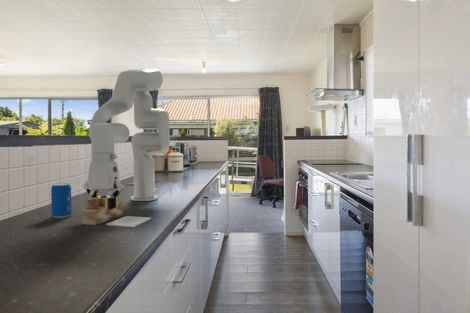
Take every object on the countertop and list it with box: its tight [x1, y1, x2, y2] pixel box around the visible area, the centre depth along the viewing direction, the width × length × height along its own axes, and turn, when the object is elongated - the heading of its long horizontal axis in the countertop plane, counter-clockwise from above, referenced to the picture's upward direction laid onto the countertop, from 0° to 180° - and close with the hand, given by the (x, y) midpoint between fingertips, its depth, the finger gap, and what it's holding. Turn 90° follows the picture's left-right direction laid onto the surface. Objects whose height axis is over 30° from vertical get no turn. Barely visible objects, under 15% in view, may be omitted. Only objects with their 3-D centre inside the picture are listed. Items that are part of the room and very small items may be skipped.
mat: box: [106, 215, 152, 228], centre depth 116 cm, size 12×10×1 cm
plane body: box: [81, 195, 124, 226], centre depth 119 cm, size 16×5×9 cm, turn 166°
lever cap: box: [88, 194, 118, 208], centre depth 119 cm, size 7×6×4 cm
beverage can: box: [50, 182, 73, 219], centre depth 122 cm, size 6×6×12 cm
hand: (103, 207), depth 119 cm, fingers closed on lever cap, 6 cm apart
